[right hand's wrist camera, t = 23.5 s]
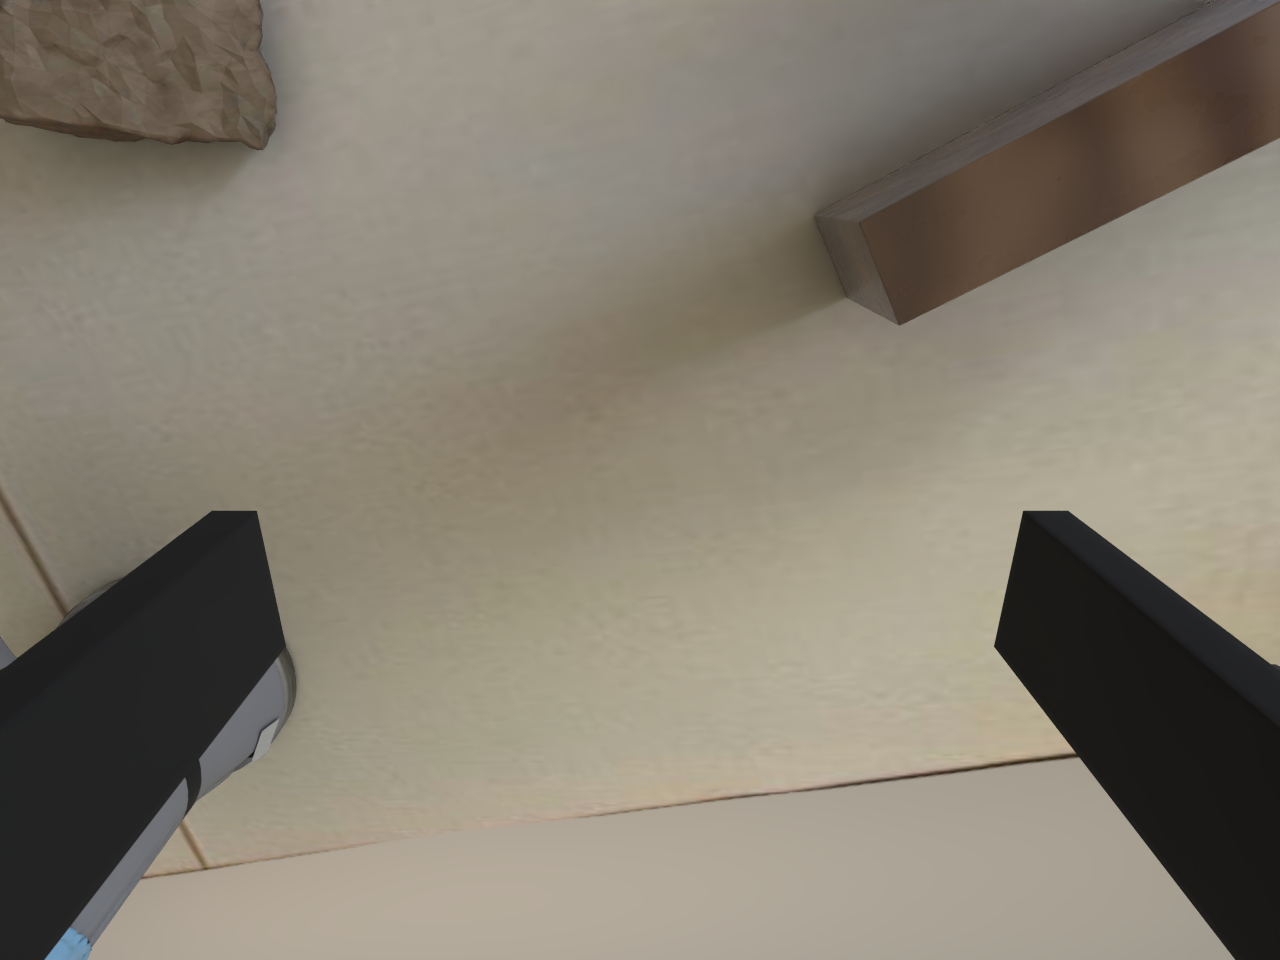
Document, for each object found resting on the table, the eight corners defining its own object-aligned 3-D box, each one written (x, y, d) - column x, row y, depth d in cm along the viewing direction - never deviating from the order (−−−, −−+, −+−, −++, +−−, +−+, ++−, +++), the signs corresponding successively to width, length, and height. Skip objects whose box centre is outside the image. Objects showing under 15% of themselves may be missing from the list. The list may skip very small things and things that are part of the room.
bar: (847, 298, 41) (899, 326, 33) (813, 215, 39) (859, 221, 31) (1339, 48, 36) (1542, 8, 28) (1324, -58, 35) (1534, -133, 27)
